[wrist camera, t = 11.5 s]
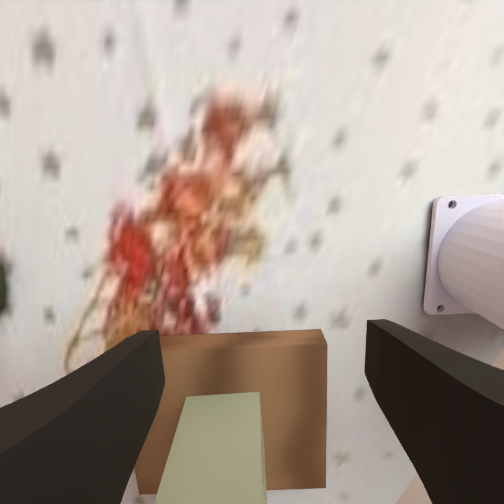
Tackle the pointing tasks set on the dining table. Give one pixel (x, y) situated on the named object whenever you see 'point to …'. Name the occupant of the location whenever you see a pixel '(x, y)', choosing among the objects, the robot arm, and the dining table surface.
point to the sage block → (216, 453)
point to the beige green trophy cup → (1, 287)
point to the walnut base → (244, 381)
